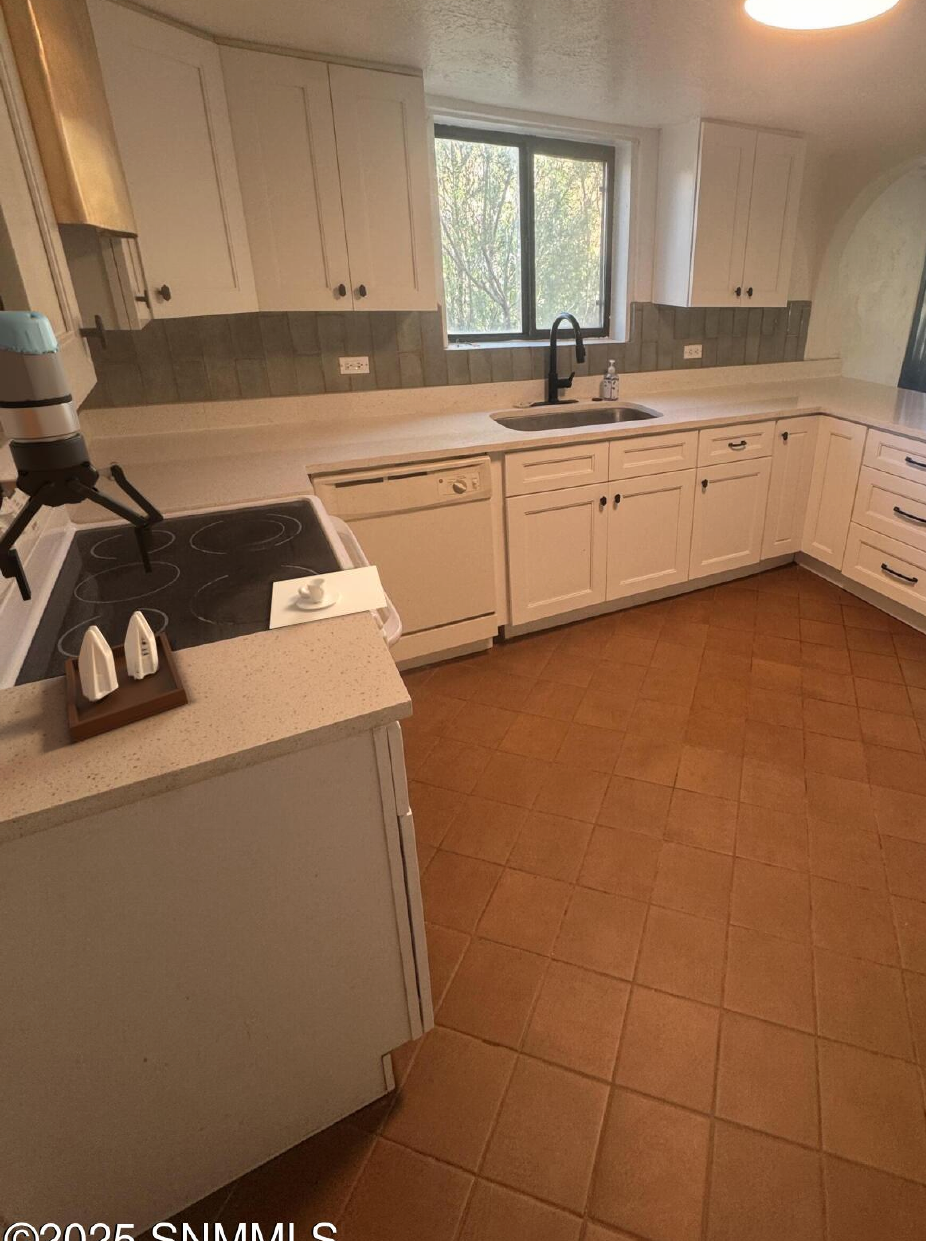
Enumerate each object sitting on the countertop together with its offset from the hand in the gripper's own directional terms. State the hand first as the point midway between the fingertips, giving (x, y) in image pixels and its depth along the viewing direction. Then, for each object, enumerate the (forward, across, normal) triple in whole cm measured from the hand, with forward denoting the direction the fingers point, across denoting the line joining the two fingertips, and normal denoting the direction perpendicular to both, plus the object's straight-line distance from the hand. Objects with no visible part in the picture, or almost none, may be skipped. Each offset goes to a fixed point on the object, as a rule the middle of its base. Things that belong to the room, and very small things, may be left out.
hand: (90, 582), depth 88 cm
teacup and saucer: (+18, -34, -11) cm, 40 cm away
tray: (+18, 0, +1) cm, 18 cm away
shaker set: (+17, 0, +1) cm, 17 cm away
